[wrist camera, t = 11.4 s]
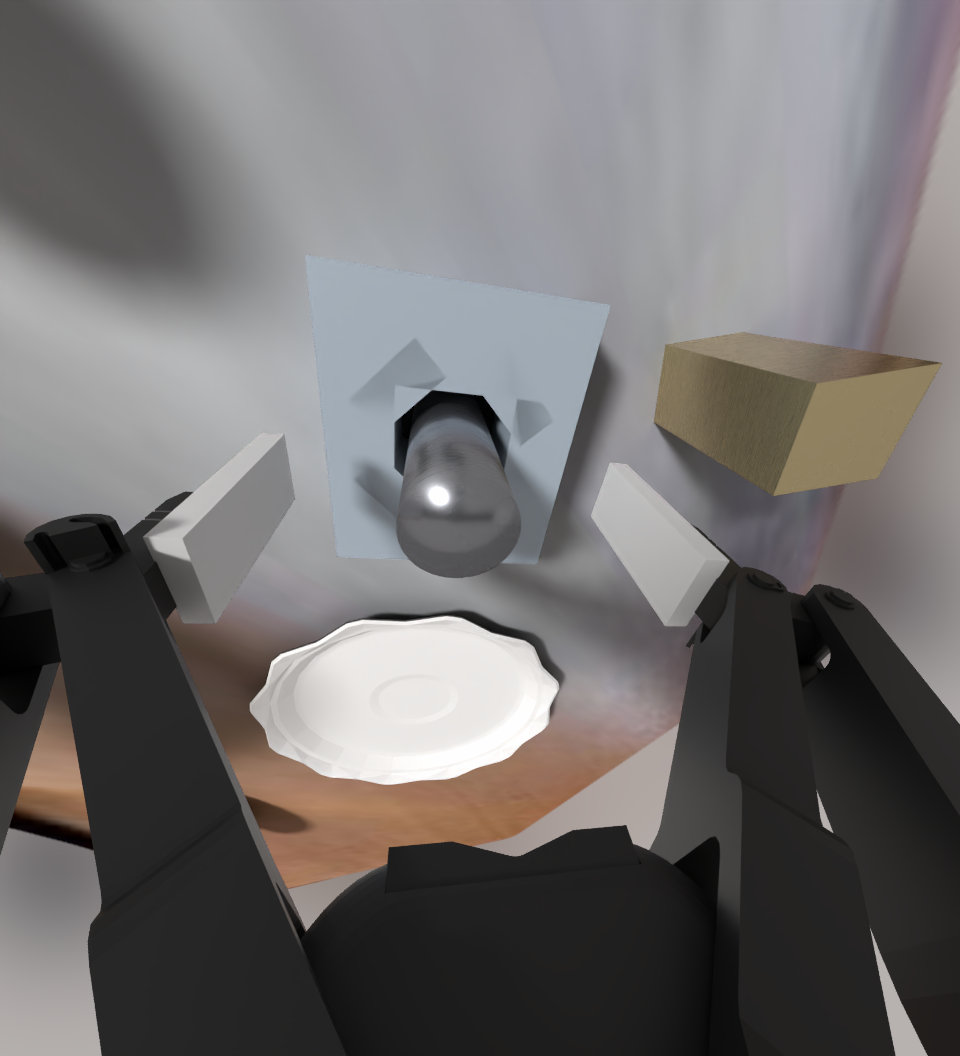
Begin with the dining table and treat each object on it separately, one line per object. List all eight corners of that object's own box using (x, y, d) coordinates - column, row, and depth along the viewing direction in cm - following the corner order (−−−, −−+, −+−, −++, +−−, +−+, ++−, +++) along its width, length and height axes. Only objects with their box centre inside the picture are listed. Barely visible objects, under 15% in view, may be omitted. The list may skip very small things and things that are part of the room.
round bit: (413, 380, 20) (396, 468, 11) (486, 388, 21) (533, 478, 11) (411, 449, 23) (395, 576, 13) (477, 455, 23) (509, 579, 14)
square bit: (665, 344, 21) (816, 383, 13) (742, 332, 21) (942, 362, 13) (653, 422, 24) (773, 496, 15) (722, 410, 24) (877, 478, 15)
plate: (530, 751, 48) (535, 771, 46) (300, 772, 45) (294, 795, 43) (574, 591, 32) (584, 611, 30) (218, 604, 28) (202, 628, 26)
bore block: (335, 261, 17) (304, 254, 13) (572, 300, 19) (610, 305, 15) (352, 511, 25) (336, 557, 21) (520, 521, 27) (537, 564, 23)
